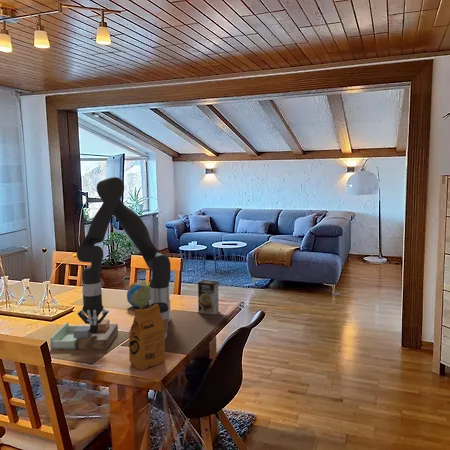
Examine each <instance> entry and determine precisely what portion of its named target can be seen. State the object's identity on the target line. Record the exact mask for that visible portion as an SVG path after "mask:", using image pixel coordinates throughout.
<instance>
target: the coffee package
mask: <svg viewBox="0 0 450 450" xmlns="http://www.w3.org/2000/svg"><path fill="white" fill-rule="evenodd" d="M149 307H150V306H149ZM133 314H134V317H133V321H132V325H131V327H130V330H129V333H128V335H129V336H128V347H129V355H128V356H129V360H128V361H129V362H130V364H131V366H134V367H135V368H136V369H137V370H139V371H144V370H146V369H147V368H150V367H156V365H157V366H158V365H160V364H162V363H163V362H165V360H166V352H165V351H166V349H165V340H166V339H165V340H164V325H163V320H162V316H161V314H160V309H159V306H158V304H155V305H153V306H152V307H150V308H143V309H140V308H138V309H133Z"/></svg>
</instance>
